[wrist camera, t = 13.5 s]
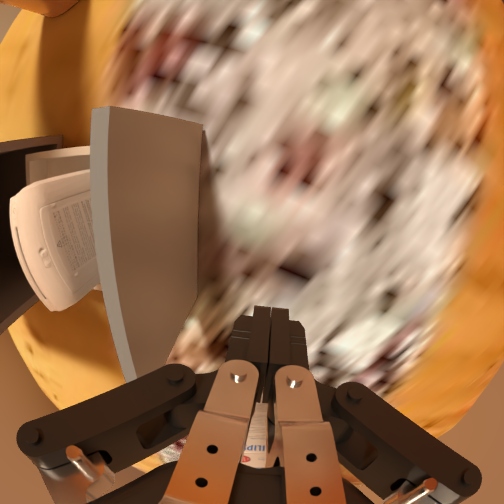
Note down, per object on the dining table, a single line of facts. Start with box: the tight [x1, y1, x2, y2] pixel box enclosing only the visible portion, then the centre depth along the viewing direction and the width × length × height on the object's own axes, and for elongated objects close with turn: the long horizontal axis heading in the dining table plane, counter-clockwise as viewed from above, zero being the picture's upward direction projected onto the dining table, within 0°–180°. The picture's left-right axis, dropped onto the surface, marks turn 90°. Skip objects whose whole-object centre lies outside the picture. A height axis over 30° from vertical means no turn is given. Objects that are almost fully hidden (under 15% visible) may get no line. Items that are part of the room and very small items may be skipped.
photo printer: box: [10, 169, 100, 312], centre depth 20 cm, size 10×4×12 cm, turn 12°
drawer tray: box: [25, 106, 203, 383], centre depth 20 cm, size 18×20×16 cm
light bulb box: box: [242, 393, 268, 469], centre depth 33 cm, size 11×7×11 cm, turn 4°
